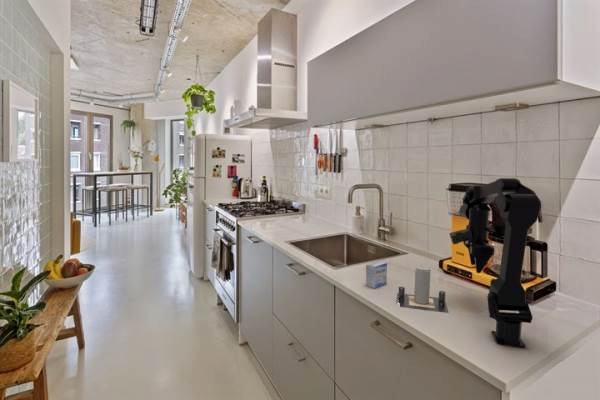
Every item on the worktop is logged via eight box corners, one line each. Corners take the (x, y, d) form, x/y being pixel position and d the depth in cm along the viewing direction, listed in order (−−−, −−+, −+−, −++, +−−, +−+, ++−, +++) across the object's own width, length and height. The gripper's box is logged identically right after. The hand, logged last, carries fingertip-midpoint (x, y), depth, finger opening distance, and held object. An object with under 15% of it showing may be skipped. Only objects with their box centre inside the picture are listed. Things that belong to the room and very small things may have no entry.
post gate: (448, 314, 105) (449, 299, 104) (396, 308, 110) (397, 293, 109) (444, 300, 116) (444, 286, 116) (397, 294, 121) (397, 281, 120)
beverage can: (419, 305, 110) (421, 270, 109) (411, 299, 114) (412, 266, 113) (432, 303, 111) (433, 269, 110) (422, 298, 116) (424, 265, 114)
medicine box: (374, 289, 125) (375, 266, 124) (365, 285, 128) (365, 264, 127) (386, 284, 130) (387, 262, 129) (377, 281, 133) (378, 260, 132)
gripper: (448, 217, 121) (446, 259, 123) (455, 226, 103) (453, 275, 105) (482, 219, 117) (479, 261, 119) (496, 228, 100) (492, 278, 101)
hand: (475, 268), depth 111 cm, fingers open, 9 cm apart
